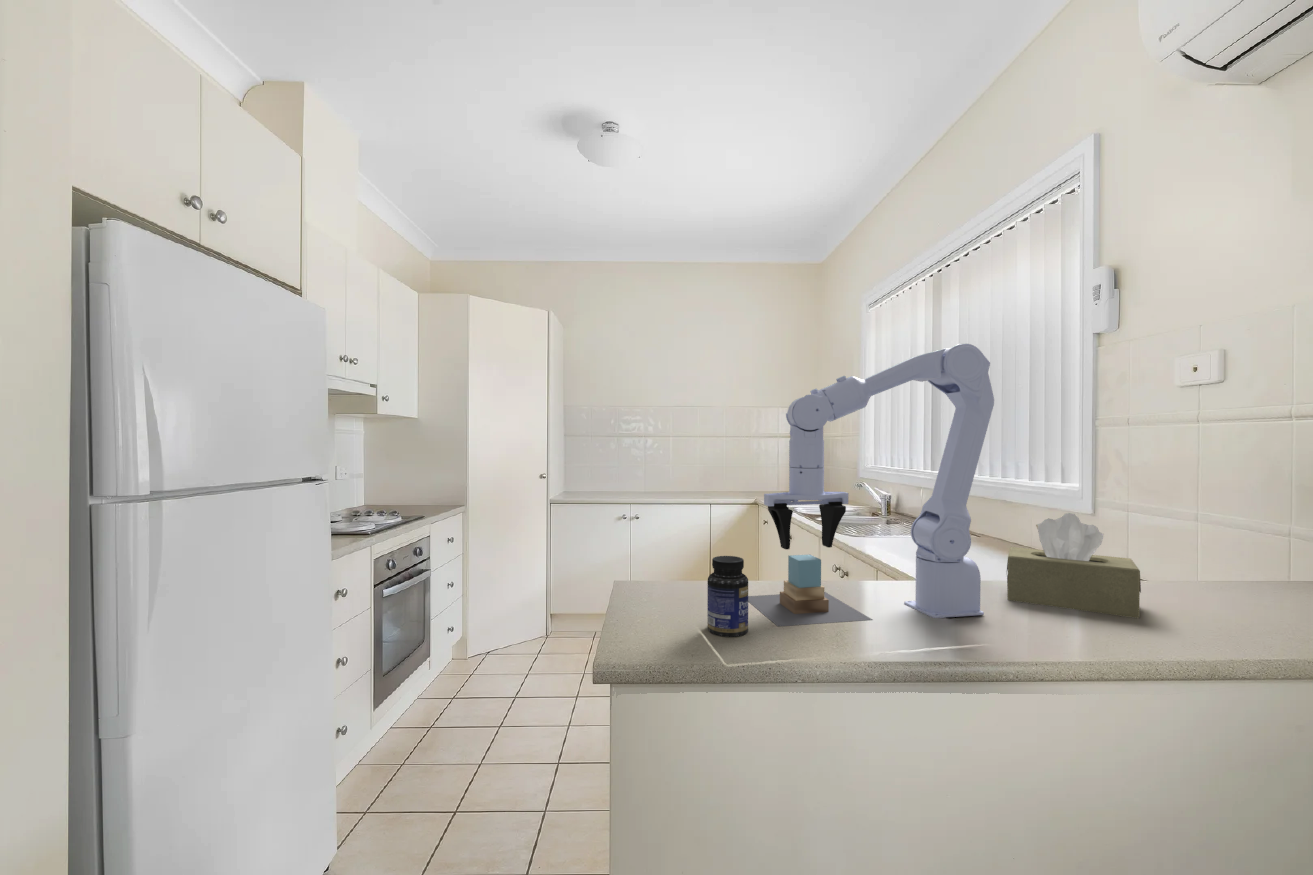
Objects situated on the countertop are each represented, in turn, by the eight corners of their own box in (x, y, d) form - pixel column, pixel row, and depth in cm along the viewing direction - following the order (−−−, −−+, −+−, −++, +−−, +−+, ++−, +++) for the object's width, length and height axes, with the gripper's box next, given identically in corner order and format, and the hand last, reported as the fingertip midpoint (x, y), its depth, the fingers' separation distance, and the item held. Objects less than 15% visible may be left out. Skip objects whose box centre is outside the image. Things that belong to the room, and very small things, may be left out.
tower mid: (810, 590, 101) (810, 579, 101) (824, 599, 97) (824, 587, 97) (783, 592, 101) (783, 580, 100) (796, 600, 96) (796, 588, 96)
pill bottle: (747, 640, 84) (747, 564, 84) (705, 637, 85) (705, 562, 85) (749, 626, 90) (749, 555, 90) (709, 623, 91) (709, 553, 91)
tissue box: (1133, 604, 102) (1134, 514, 102) (1141, 619, 94) (1143, 521, 94) (1007, 588, 112) (1008, 506, 112) (1005, 600, 104) (1006, 512, 104)
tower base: (811, 601, 102) (812, 589, 102) (828, 611, 96) (828, 599, 96) (779, 603, 101) (779, 591, 101) (794, 614, 95) (794, 601, 95)
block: (809, 580, 101) (810, 554, 101) (820, 586, 97) (821, 559, 97) (788, 581, 100) (788, 555, 100) (798, 587, 96) (798, 560, 96)
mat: (824, 593, 108) (824, 591, 108) (872, 621, 92) (872, 619, 92) (742, 598, 105) (742, 596, 105) (777, 628, 89) (777, 626, 89)
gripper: (834, 465, 104) (833, 541, 104) (757, 466, 101) (757, 544, 102) (855, 467, 97) (854, 549, 97) (773, 469, 94) (773, 552, 95)
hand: (806, 547), depth 99 cm, fingers open, 7 cm apart
